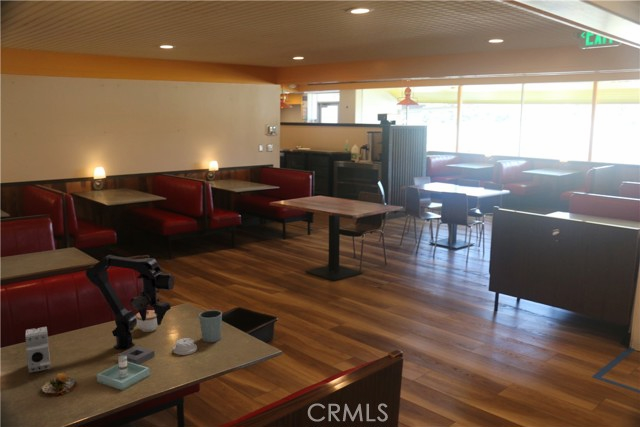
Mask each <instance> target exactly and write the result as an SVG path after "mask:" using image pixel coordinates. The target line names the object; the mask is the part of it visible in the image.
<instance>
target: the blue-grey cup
mask: <svg viewBox="0 0 640 427" xmlns="http://www.w3.org/2000/svg"><path fill="white" fill-rule="evenodd" d="M198 317H199V324H200V330H201V331H200V332H201V339H202V341H203V342H205V343H215V342H219V341H220V340H221V339H222V322H223V321H222V320H223V319H222V318H223V312H222V311H221V310H218V309H207V310H203V311H201V312H200V313H199V314H198Z"/></svg>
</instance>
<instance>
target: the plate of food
mask: <svg viewBox="0 0 640 427" xmlns="http://www.w3.org/2000/svg"><path fill="white" fill-rule="evenodd" d="M76 387H77V381H76V379H75V378H72V377H70V376H69V377H68V375H67V374H66V371H64V372H63V373H61V372H60V373H57V374H56V377H55V378H54V379H50V380H49V381H46V382H45V383H43V385H42V386H41V388H40V389H41V390H42V392H44V393H45V394H50V395H51V397H58V396H59V394H60V395H66V394H68V393H69V392H71V391H74V390H75V389H76Z"/></svg>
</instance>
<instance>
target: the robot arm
mask: <svg viewBox="0 0 640 427" xmlns="http://www.w3.org/2000/svg"><path fill="white" fill-rule="evenodd" d="M111 267H114V268H121V269H129V270H133V271H135V272H137V273H139V275H138V276H136V277H137V279H141V280H142V281H141V284H142V290H141V291H140V293H139V295H138V296H135V297H132V299H130V306H132V309H133V310H137V311H138V313H140V316H141V318H142V320H143V321H145V319H146V313H147V310H148V307H153V310H154V311H155V312H154V313H155V314H156V317H157V324H158V326H160V325H161V324H162V321H163V319H164V317H165V315H166V313H167V312H169V310H171V308H172V307H171V306H172V305H171V303H169V302H166V301H161V302H160V298H158V293H159V292H160V290H165V291H172V290H173V289H174V287H175V282H176V281H175V278H174V276H173V275H172V274H173V273H164V271H163V269H162V268H161V267H160V265H159V264H158V261H157V260H156V259H155V258H153V257H147V258H145V257H144V258H131V257H125V256H124V257H123V256H116V255H113V254H108V255H106V256H104V257H103V258H102V259H100V260H99V261H98V262H97V263H95V265H92V266H90V267H88V268H87V269H85V277H86V279H87V280H89V282H90V283H91V284H92V285H94V286H96V287H97V288H98V290H99V291H100V293H101V294H102V296H103V297H104V300H105V302H107V305H108V306H109V308H110V310H111V311H112V312H113V315H114V321H115V322H114V323H115V325H116V327H115V328H114V329H113V330H112V331H111V333H112V335H113V337H115V340H116V341H115V342H116V344H115V345H113V348H115V349H119V350H122V351H125V350H128V349H131V347H132V348H133V347H134V346H136V343H134V342H133V336H132V331H133V330H134V329H135V328H136V326H137V319H136V318H137V317H136V314H135V313H134V311H133V310H132V309H131V310H128V309H126V308H125V306H124V305H123V303H122V301H121V300H120V298H119V296H118V294H117V293H116V291H115V289H114V288H113V286H112V284H111V283H110V281H109V273H108V270H109V269H110V268H111ZM154 271H155V272H154Z"/></svg>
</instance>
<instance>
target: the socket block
mask: <svg viewBox="0 0 640 427" xmlns="http://www.w3.org/2000/svg"><path fill="white" fill-rule="evenodd" d="M121 355H126V356H127V361H128V362H131V363H135V364H138V365H141V364H142V363H145V362H147V361H148V360H151V359H152V358H155V356H156V355H155V350H154V349H149V348H145V347H142V346H139V345H137V346H136V345H135V347H134V346H133V347H132V348H129V349H127V350H126V351H124V352H122V353H120V354H118V357H119V356H121Z"/></svg>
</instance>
